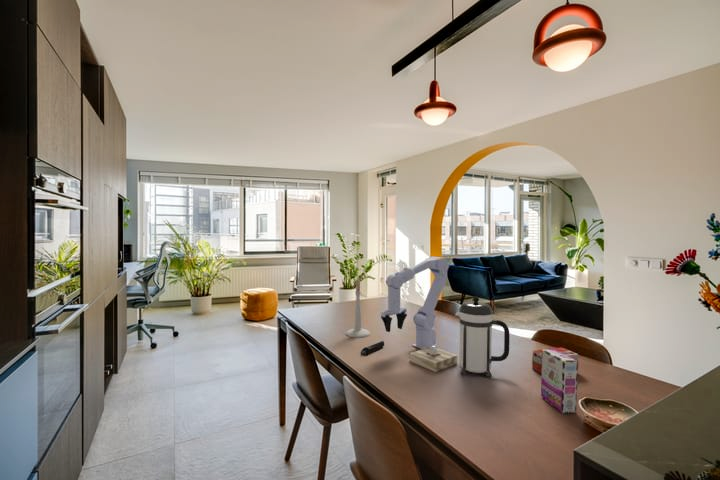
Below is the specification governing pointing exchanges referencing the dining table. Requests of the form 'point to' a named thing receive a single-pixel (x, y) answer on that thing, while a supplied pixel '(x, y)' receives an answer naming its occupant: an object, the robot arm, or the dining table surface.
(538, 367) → the medicine box
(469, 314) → the coffee press
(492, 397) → the dining table surface
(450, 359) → the socket block
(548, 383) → the candy bar box
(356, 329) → the candlestick
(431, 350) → the peg
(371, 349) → the electric trimmer
